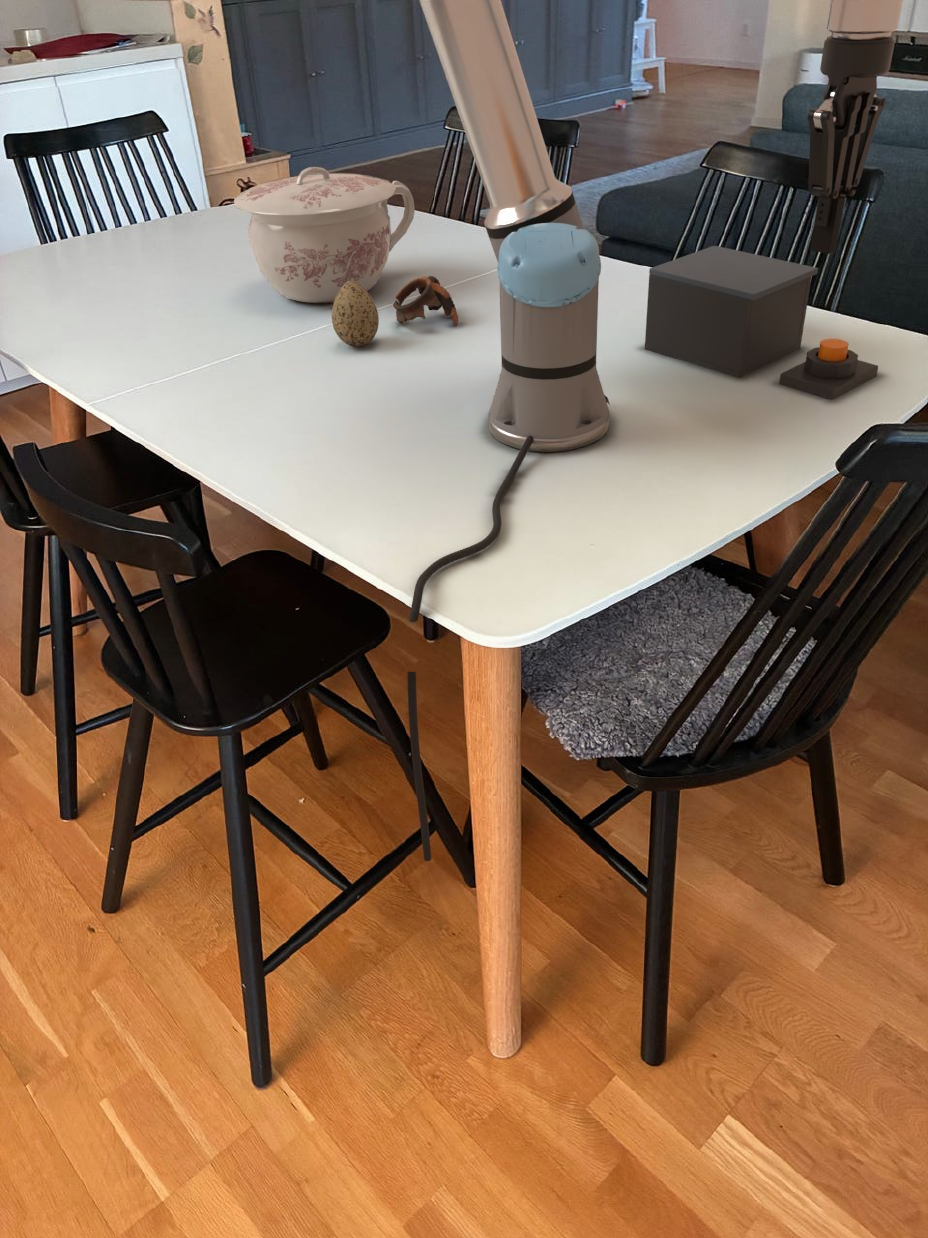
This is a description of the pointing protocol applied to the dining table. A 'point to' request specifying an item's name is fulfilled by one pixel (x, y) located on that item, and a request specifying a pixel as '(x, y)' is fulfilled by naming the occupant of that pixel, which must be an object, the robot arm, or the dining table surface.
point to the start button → (833, 350)
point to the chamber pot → (323, 231)
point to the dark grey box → (724, 325)
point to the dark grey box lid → (734, 272)
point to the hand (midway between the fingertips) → (822, 250)
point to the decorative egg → (354, 315)
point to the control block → (828, 375)
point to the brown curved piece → (424, 300)
